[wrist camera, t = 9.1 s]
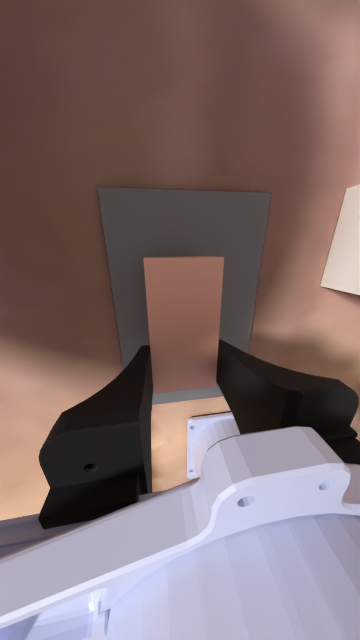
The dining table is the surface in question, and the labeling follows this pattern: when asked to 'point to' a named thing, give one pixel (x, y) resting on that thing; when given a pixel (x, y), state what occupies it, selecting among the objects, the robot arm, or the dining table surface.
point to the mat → (183, 240)
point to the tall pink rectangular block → (183, 320)
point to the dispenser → (345, 247)
